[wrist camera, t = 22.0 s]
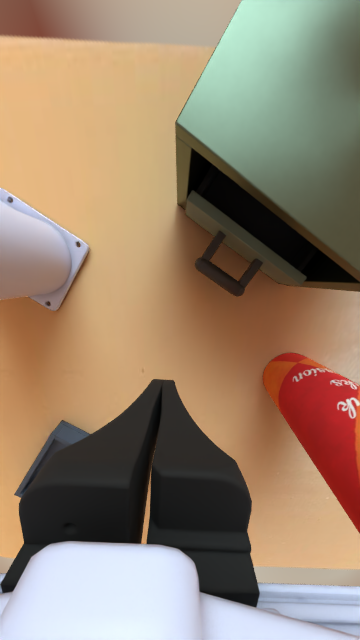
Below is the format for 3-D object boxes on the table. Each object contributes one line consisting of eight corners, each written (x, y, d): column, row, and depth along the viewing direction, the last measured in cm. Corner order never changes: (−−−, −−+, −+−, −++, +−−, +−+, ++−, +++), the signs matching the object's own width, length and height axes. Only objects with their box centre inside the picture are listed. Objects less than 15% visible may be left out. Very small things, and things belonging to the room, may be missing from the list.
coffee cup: (336, 363, 22) (657, 538, 7) (294, 415, 23) (485, 646, 9) (278, 330, 21) (511, 454, 6) (238, 387, 22) (349, 593, 8)
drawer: (164, 249, 18) (160, 242, 15) (260, 91, 15) (285, 35, 12) (256, 312, 19) (272, 320, 16) (359, 179, 17) (406, 153, 13)
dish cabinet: (177, 204, 18) (174, 121, 8) (255, 72, 16) (373, -246, 6) (286, 285, 20) (387, 294, 10) (371, 178, 17) (601, 60, 8)
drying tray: (27, 477, 26) (13, 494, 24) (62, 419, 23) (51, 433, 21) (111, 516, 27) (105, 535, 25) (151, 465, 25) (149, 482, 23)
